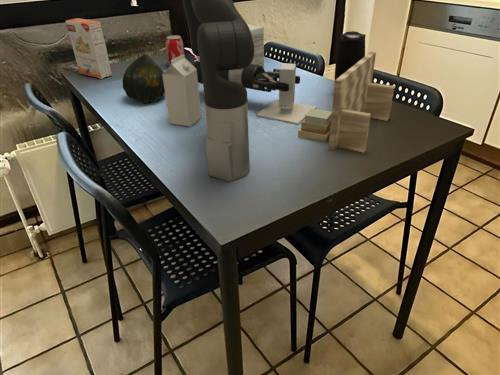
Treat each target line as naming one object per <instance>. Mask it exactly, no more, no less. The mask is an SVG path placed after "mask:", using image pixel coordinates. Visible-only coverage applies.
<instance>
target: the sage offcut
mask: <svg viewBox="0 0 500 375" xmlns="http://www.w3.org/2000/svg"><path fill="white" fill-rule="evenodd" d="M331 118H332V111H330V110H325V109H324V110H323V109H318V108H317V109H312V108H311V109H310V111H309V112H308V113H307V114H306V115H305V122H306V123H312V124H318V125H323V126H327V124H328V123H329V122H330V121H331Z"/></svg>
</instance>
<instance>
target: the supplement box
mask: <svg viewBox="0 0 500 375" xmlns="http://www.w3.org/2000/svg"><path fill="white" fill-rule="evenodd" d="M246 24H247V23H246ZM247 25H248V27H249V29H250V32H251V34H252V37H253V42H254V58H253V61H252V63H251V64H256V65H261V66H262V67H263V68H264V69H265V51H264V50H265V41H264V40H265V32H264V31H265V29H264V28H265V27H264V26H261V25H254V24H247Z"/></svg>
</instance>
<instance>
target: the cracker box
mask: <svg viewBox="0 0 500 375" xmlns="http://www.w3.org/2000/svg"><path fill="white" fill-rule="evenodd" d="M65 24H66V28H67V32H68V35H69V39H70V43H71V47H72V49H73V50H72V51H73V53H74V57H75V58H74V59H75V61H76V66H77V69H78V72H79V74H80V73H82V74H86V75H89V76H93V77H97V78H104V77H106V76H109V75H112V76H113V72H112V69H111V63H110V59H109V55H108V50H107V44H106V41H105V37H104V32H103V27H102V24H101V21H98V20H91V19H85V18H79V17H77V18H71V19H66V20H65ZM89 76H88V77H89ZM93 77H92V78H93ZM97 78H96V79H97Z"/></svg>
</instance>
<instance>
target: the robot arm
mask: <svg viewBox="0 0 500 375" xmlns="http://www.w3.org/2000/svg"><path fill="white" fill-rule="evenodd" d="M181 1H182V6H183V10H184V14H185V18H186V21H187V27H188V31H189V41H190V48H191V52H192V54H193V55H194V56H196V57H198V59H199V58H200V62H198V61H196V60H195V61H193V63H191V64H192V65H193V66H194V67H195V68H196V70H197V79H198V84H201V85H202V86H203V88H202V89H203V98H204V108H205V109H204V110H205V111H204V112H205V120H206V130H207V132H206V133H207V138H206V139H205V148H206V157H207V158H206V160H207V168H208V175H209V176H210V177H212V178H217V179H220V180H222V181H226V182H229V183H231V182H233V181H235V180H238V179H241V178H244V177H246V176H247V175H248V174H249V173H250V167H251V166H250V145H249V144H250V142H249V141H250V140H249V138H250V137H249V116H248V115H249V114H248V113H249V112H248V110H249V108H248V107H249V106H248V91H247V89H249V90H255V91H258V92H259V91H260V92H266V93H272V91H274V92H275V91H279V90H280V91H285V92H287V91H289V84H287V83H281V82H279V81H280V69H279V68H278V69H277V68H273V69H272V70H267V71H266V70H265V67H264V68H263V67H262V66H261V65H256V64H251V63H252V61H253V58H254V42H253V37H252V34H251V32H250V29H249V27H248V25H249V24H248V25H247V22H246V20H245V19H244V18H243V16H242V15H241V14H240V13H239V11H238V9H237V7H236V6H235V3H234V1H233V0H181ZM300 83H301V76H299V75H296V76H295V85H298V84H300Z"/></svg>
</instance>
